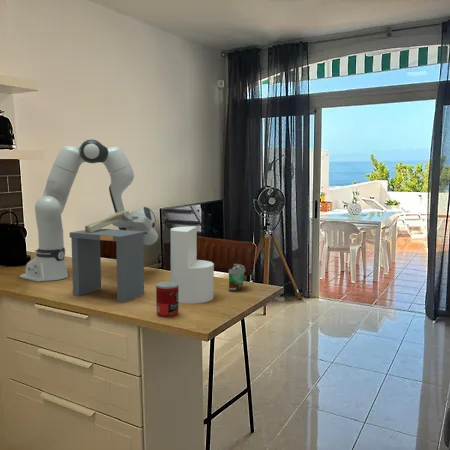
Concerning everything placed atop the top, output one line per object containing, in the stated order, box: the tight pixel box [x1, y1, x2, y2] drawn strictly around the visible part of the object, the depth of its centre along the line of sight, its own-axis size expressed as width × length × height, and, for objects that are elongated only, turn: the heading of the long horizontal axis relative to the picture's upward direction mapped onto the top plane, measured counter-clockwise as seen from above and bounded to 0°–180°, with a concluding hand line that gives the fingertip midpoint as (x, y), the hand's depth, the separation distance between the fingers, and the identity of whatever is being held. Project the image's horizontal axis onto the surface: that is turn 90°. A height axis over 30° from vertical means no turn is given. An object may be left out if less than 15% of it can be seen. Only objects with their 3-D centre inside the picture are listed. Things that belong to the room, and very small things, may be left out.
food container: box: [228, 263, 246, 293], centre depth 196 cm, size 12×6×10 cm, turn 168°
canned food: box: [155, 281, 179, 318], centre depth 161 cm, size 8×8×11 cm
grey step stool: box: [69, 228, 145, 304], centre depth 184 cm, size 25×16×26 cm, turn 67°
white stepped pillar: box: [170, 225, 215, 305], centre depth 181 cm, size 17×17×28 cm
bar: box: [84, 209, 130, 233], centre depth 192 cm, size 3×26×2 cm, turn 156°
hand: (119, 213), depth 199 cm, fingers closed on bar, 3 cm apart
